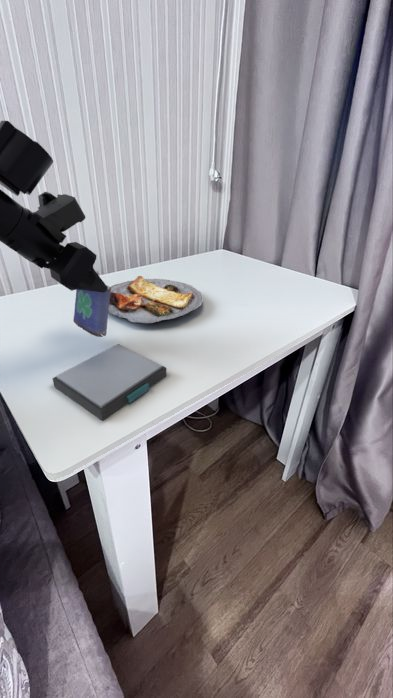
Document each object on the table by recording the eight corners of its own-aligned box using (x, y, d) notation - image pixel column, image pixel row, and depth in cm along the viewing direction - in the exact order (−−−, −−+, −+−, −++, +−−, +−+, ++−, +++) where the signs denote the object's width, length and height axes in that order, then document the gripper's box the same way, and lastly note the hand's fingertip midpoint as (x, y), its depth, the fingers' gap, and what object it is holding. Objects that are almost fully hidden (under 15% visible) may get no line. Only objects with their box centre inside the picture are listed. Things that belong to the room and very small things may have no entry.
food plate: (79, 305, 80) (77, 291, 78) (147, 279, 96) (146, 267, 94) (155, 340, 67) (155, 325, 65) (219, 304, 83) (220, 291, 81)
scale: (104, 422, 48) (102, 410, 47) (54, 387, 54) (51, 375, 53) (168, 377, 57) (168, 366, 56) (119, 351, 64) (118, 341, 62)
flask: (109, 336, 60) (115, 277, 56) (94, 338, 58) (99, 277, 53) (83, 318, 65) (86, 263, 61) (68, 319, 63) (71, 263, 59)
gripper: (72, 182, 40) (149, 257, 53) (19, 168, 52) (93, 233, 64) (19, 257, 40) (109, 315, 52) (-23, 227, 51) (60, 280, 64)
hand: (92, 281), depth 58 cm, fingers closed on flask, 9 cm apart
